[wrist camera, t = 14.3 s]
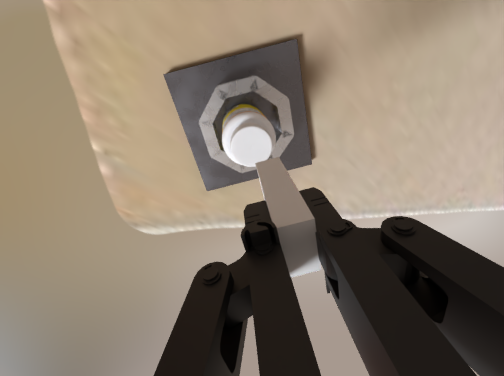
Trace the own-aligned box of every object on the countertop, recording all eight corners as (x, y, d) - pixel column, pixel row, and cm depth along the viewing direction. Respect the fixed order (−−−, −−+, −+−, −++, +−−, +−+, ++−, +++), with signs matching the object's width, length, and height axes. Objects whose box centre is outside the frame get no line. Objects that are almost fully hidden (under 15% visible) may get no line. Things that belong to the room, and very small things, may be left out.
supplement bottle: (261, 147, 32) (275, 177, 23) (220, 143, 31) (219, 172, 22) (267, 105, 30) (286, 121, 21) (224, 99, 29) (224, 113, 20)
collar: (294, 39, 28) (303, 36, 25) (309, 161, 35) (317, 170, 32) (165, 74, 28) (157, 74, 25) (207, 187, 36) (205, 199, 32)
